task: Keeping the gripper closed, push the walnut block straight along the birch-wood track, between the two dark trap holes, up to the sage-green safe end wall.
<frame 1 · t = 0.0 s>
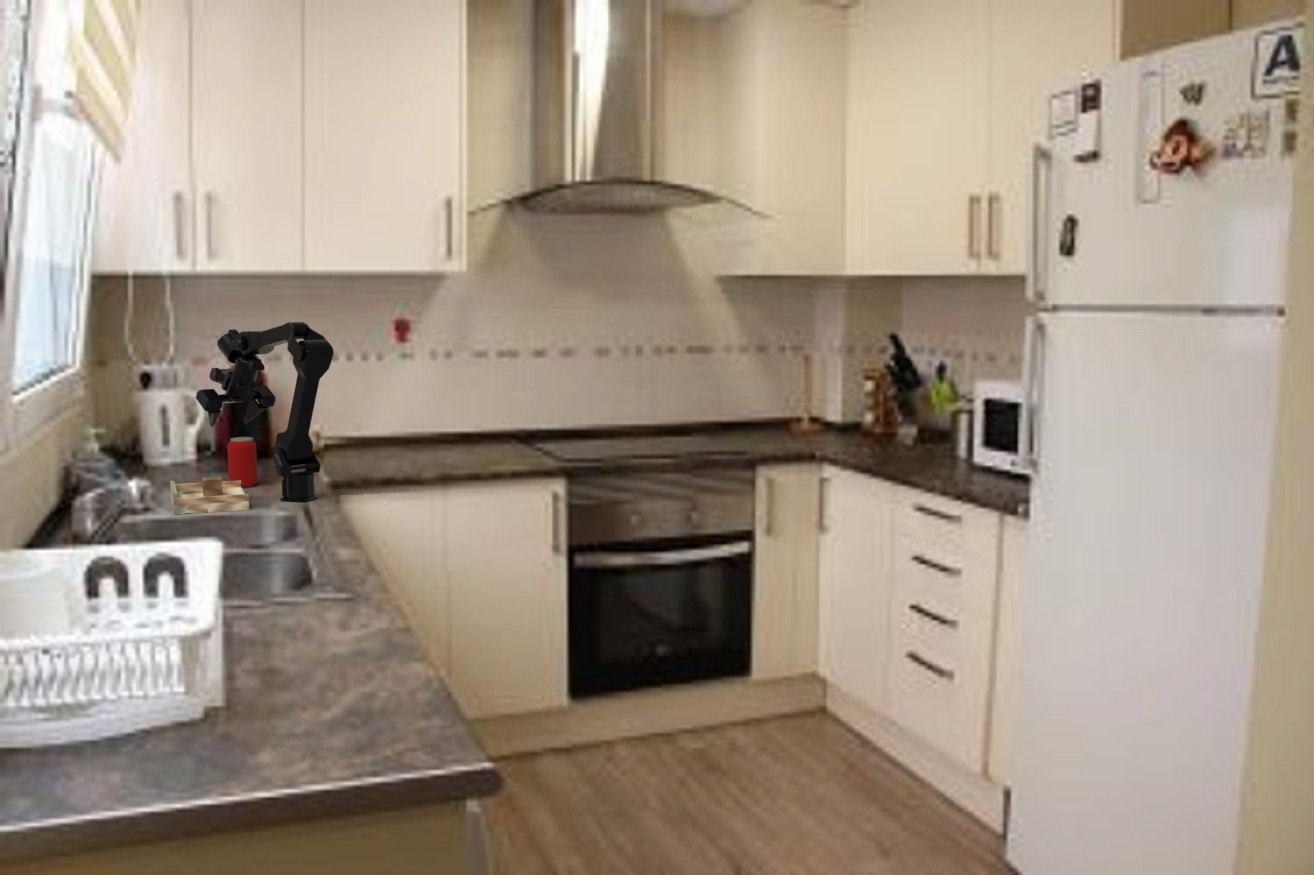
hand: (228, 424, 284), 15 cm above the counter, tool tilted 35°, fingers open, 9 cm apart
walnut block: (212, 495, 258), point 2 cm above the counter, touching trap track
trap track: (209, 504, 258), on the counter
beverage can: (243, 486, 282), on the counter
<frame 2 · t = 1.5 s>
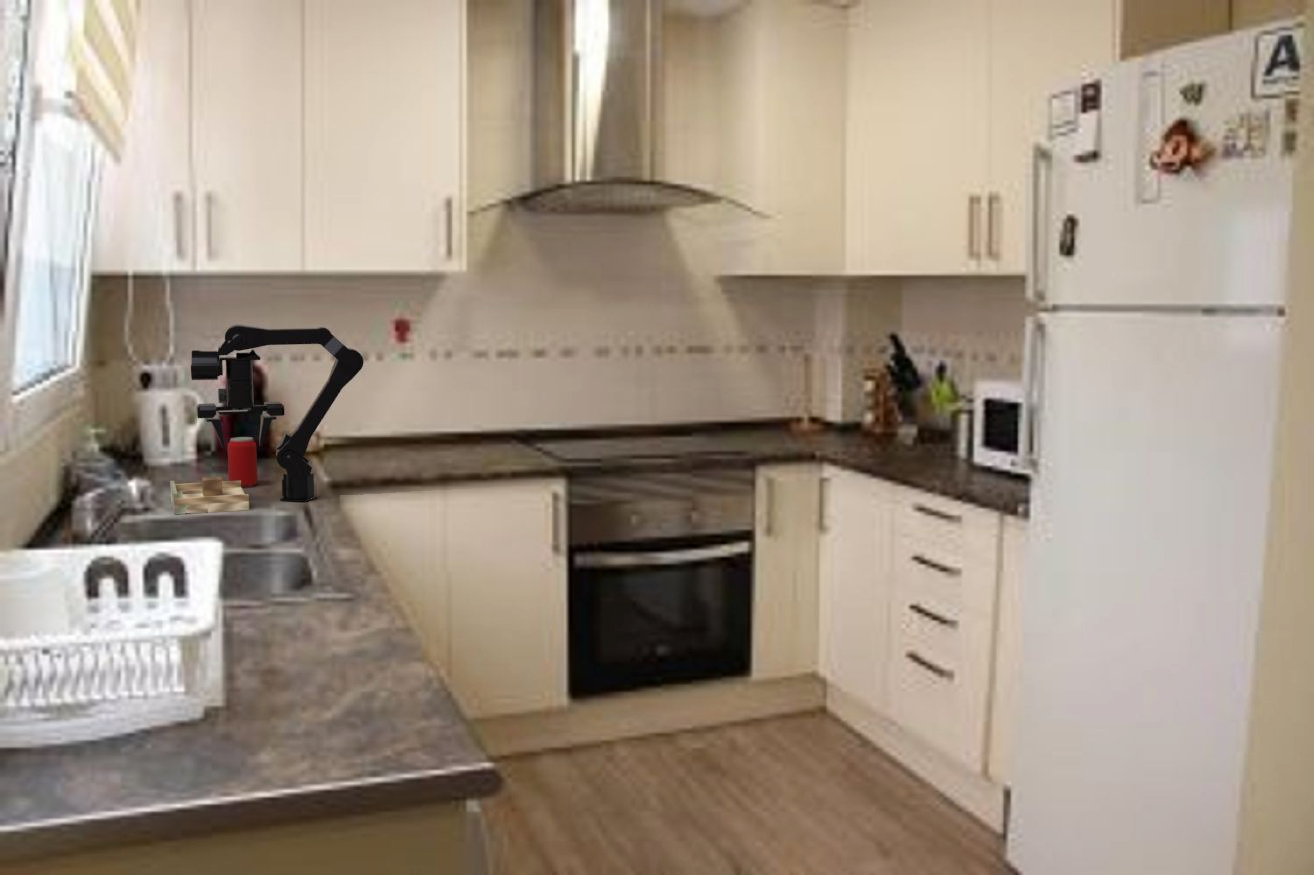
hand: (241, 446, 260), 13 cm above the counter, tool pointing down, fingers open, 8 cm apart
nothing on the counter moved.
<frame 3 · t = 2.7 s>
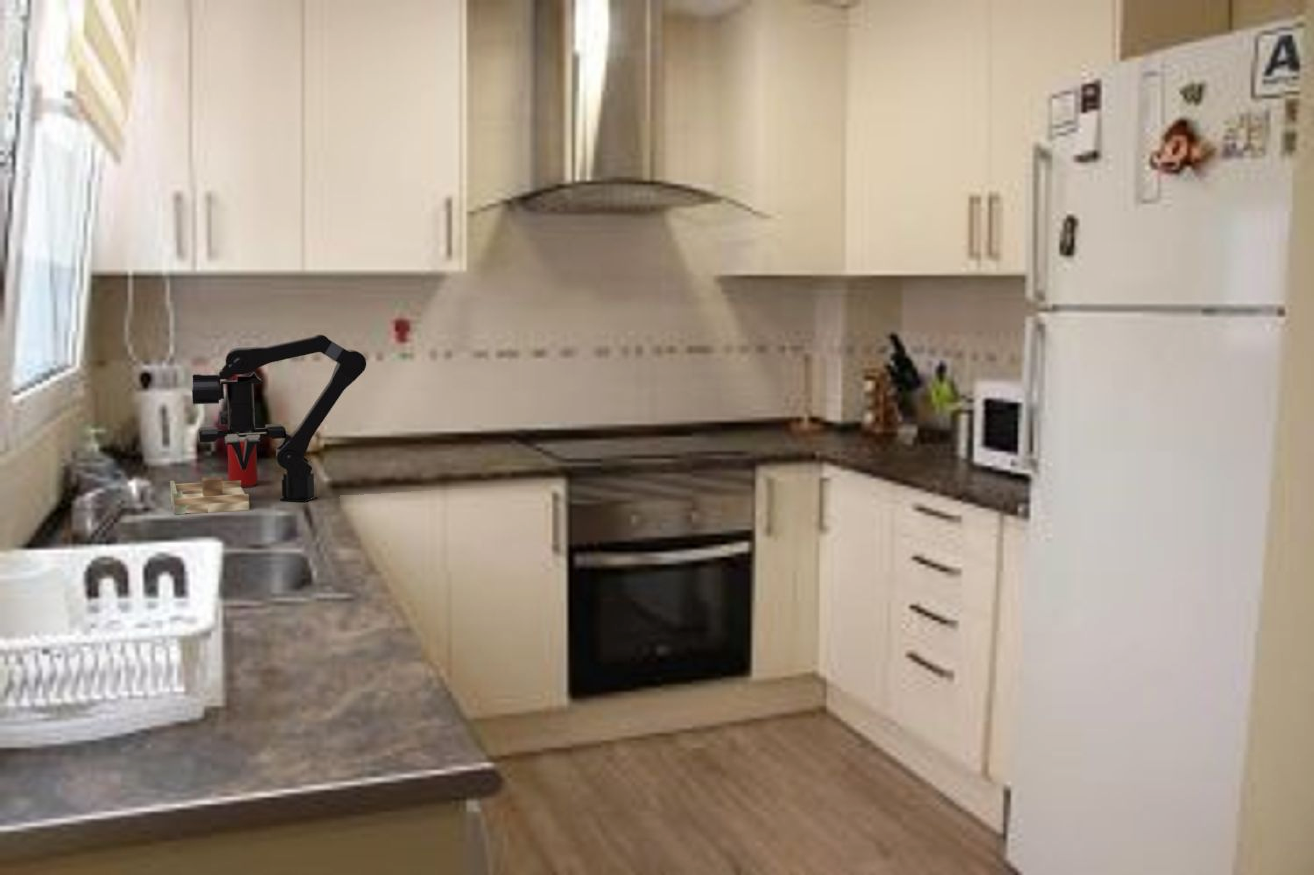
hand: (243, 469, 260), 8 cm above the counter, tool pointing down, fingers closed
nothing on the counter moved.
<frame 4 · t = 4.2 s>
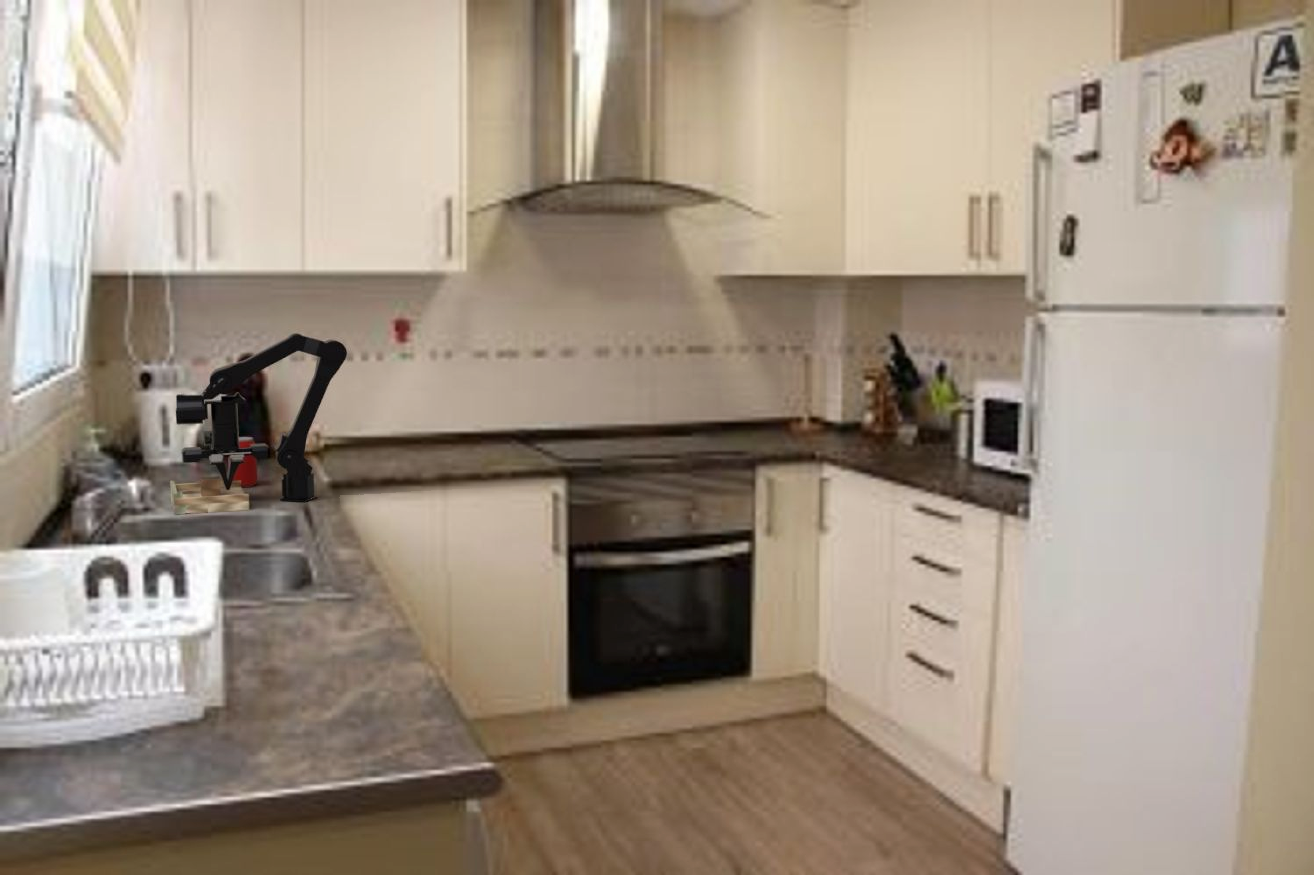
hand: (227, 489, 260), 3 cm above the counter, tool pointing down, fingers closed
walnut block: (211, 495, 258), point 2 cm above the counter, touching gripper
everything else where it was.
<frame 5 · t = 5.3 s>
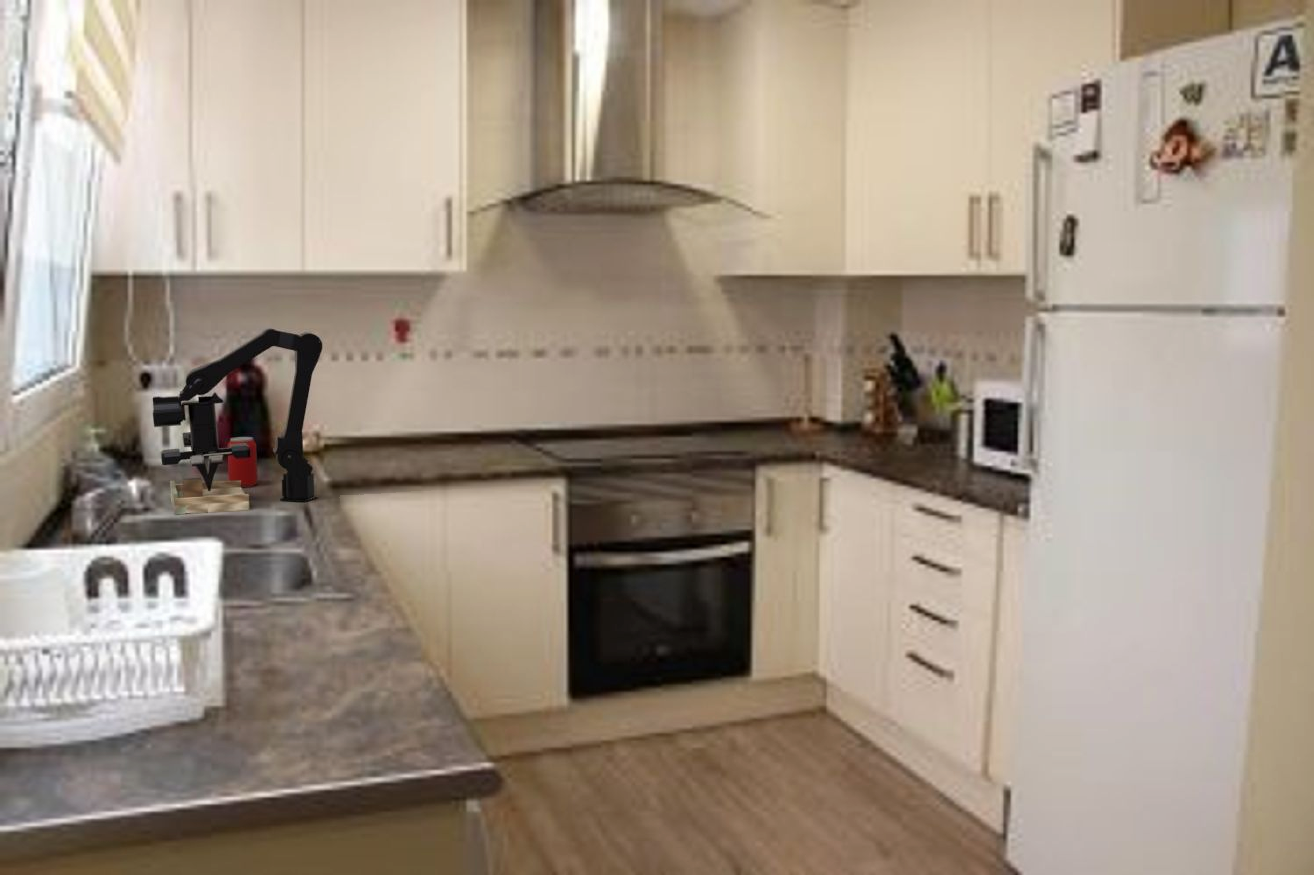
hand: (209, 490, 258), 3 cm above the counter, tool pointing down, fingers closed
walnut block: (193, 496, 256), point 2 cm above the counter, touching gripper, trap track
everything else where it was.
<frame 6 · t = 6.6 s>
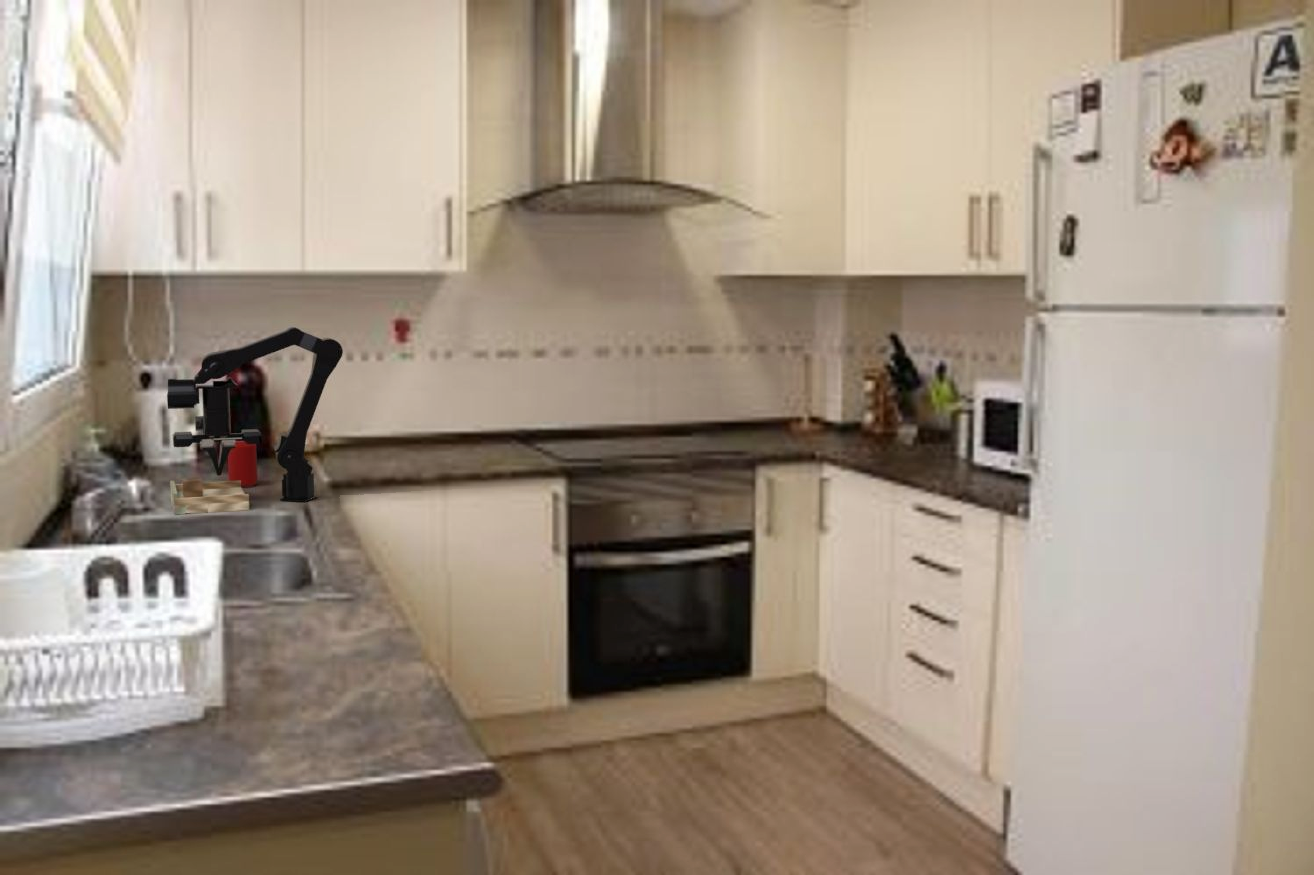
hand: (218, 475, 258), 7 cm above the counter, tool pointing down, fingers closed
walnut block: (193, 496, 256), point 2 cm above the counter, touching trap track
everything else where it was.
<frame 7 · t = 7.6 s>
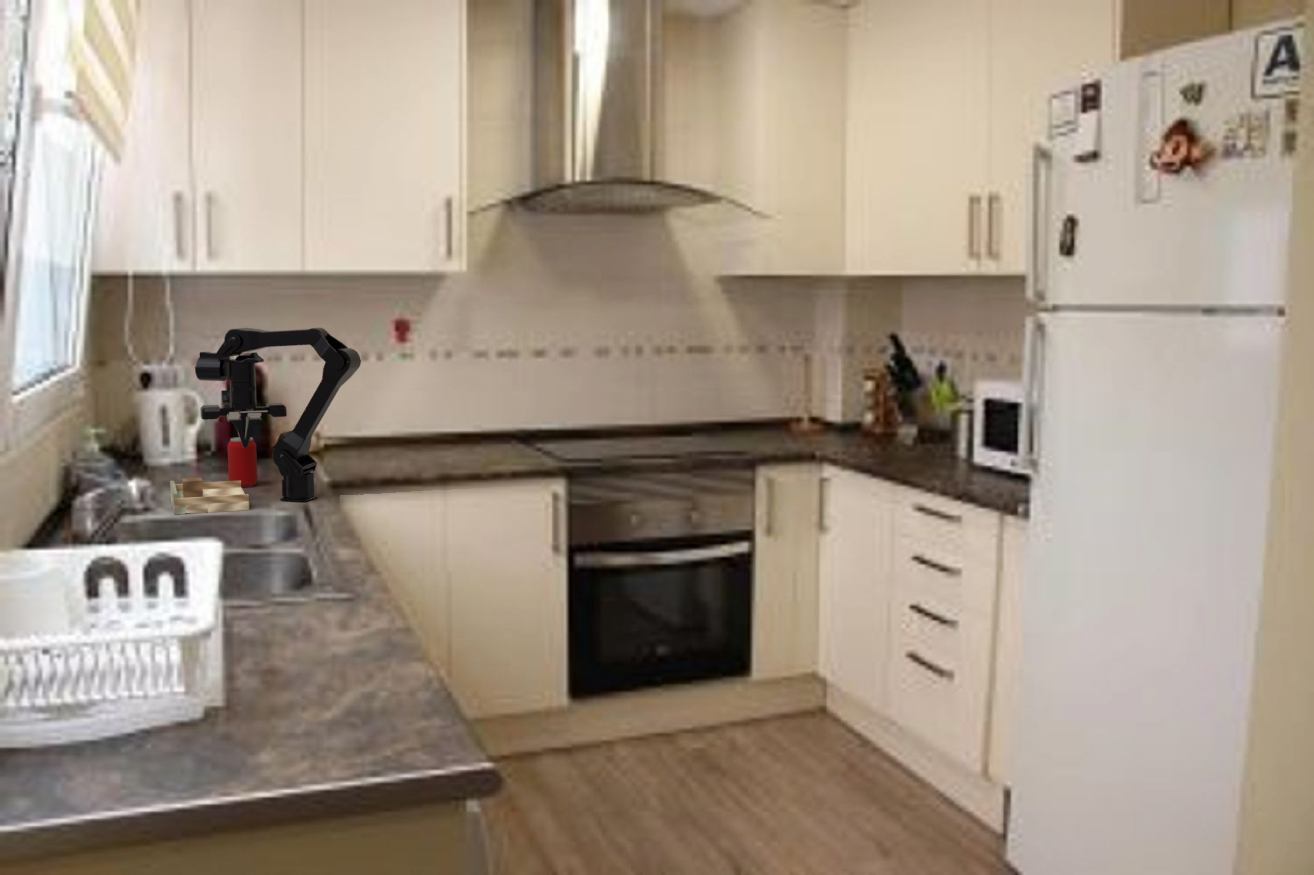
hand: (245, 447, 266), 12 cm above the counter, tool pointing down, fingers closed
nothing on the counter moved.
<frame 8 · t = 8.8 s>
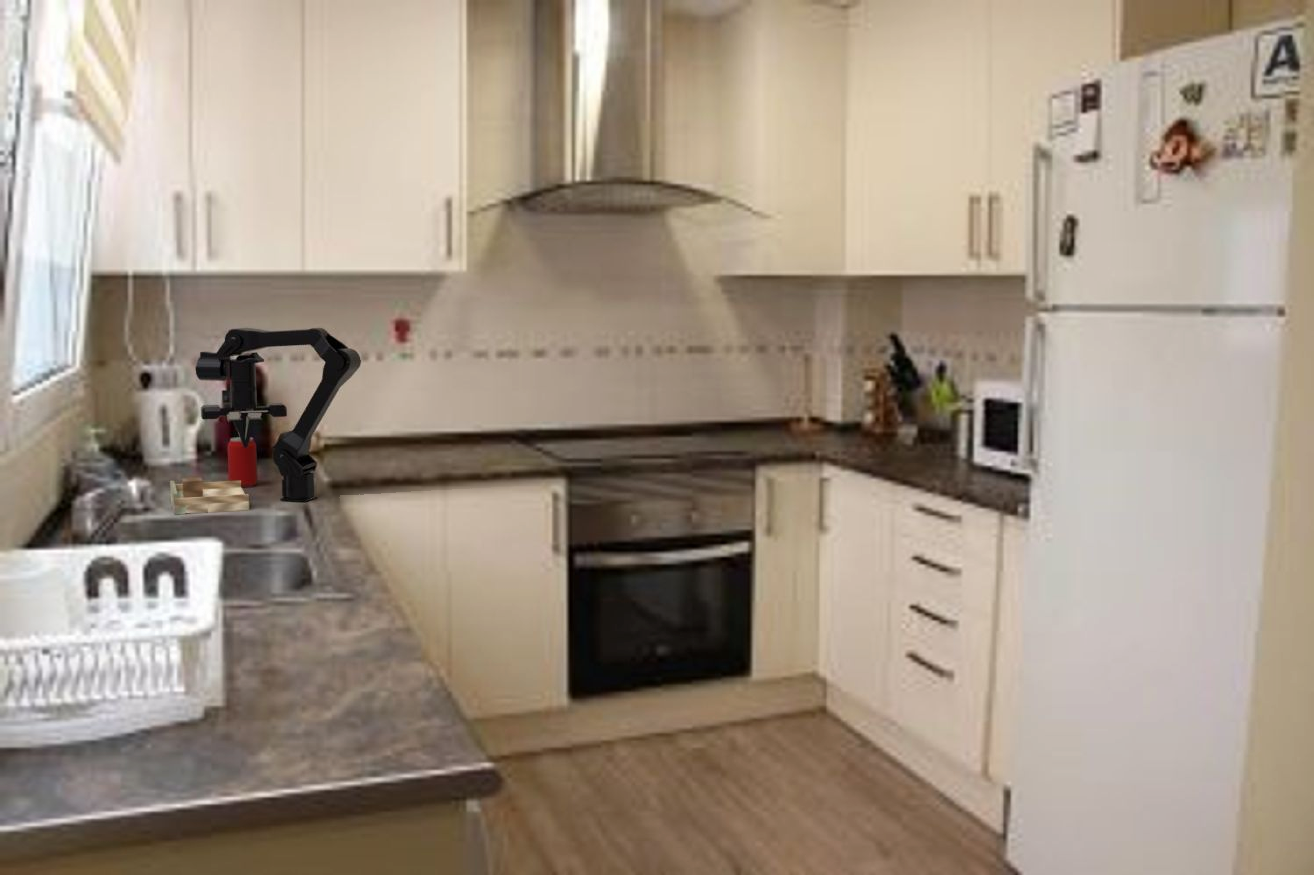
hand: (245, 447, 266), 12 cm above the counter, tool pointing down, fingers closed
nothing on the counter moved.
at the end: walnut block 2.2 cm from the target spot, point 2.0 cm above the counter; walnut block tilted 0°; walnut block moved 4.2 cm from its start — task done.
